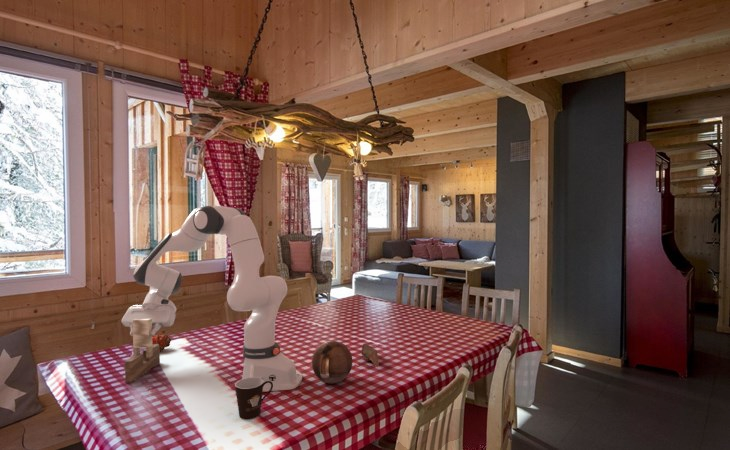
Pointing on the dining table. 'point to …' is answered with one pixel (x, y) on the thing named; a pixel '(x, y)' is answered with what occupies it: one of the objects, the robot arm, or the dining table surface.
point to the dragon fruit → (161, 341)
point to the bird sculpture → (370, 354)
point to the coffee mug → (250, 396)
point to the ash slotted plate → (142, 336)
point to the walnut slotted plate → (141, 364)
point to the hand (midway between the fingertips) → (141, 335)
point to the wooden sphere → (332, 362)
